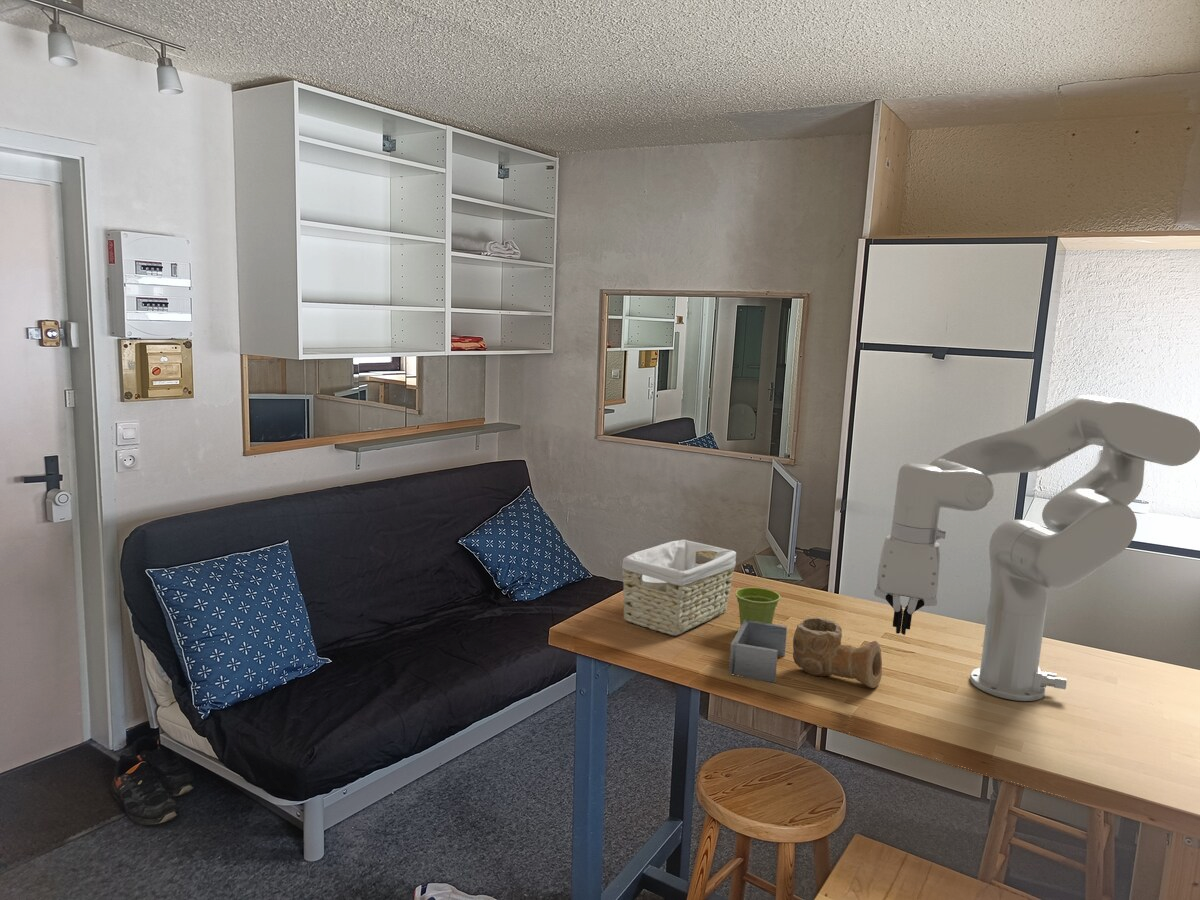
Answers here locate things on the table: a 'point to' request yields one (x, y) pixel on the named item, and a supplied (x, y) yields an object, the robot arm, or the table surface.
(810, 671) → the pipe
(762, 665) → the gray channel bracket
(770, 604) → the plant pot
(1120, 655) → the table surface
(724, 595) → the storage basket
